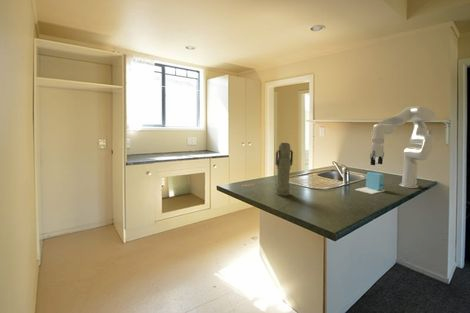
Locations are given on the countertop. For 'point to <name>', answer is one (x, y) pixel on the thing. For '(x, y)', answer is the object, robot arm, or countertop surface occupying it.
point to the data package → (375, 181)
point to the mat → (369, 190)
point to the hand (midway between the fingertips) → (376, 164)
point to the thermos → (283, 169)
